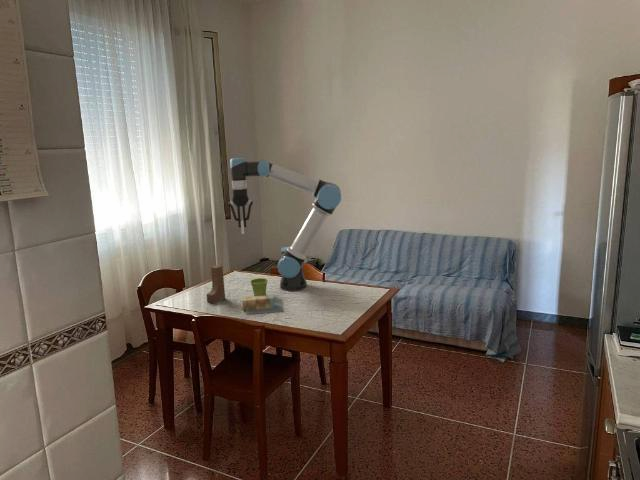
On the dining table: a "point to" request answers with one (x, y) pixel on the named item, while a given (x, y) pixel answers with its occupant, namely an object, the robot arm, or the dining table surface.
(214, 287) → the brown boot
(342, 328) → the dining table surface
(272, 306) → the tan jar with lid
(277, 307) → the mat
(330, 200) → the robot arm
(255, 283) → the plant pot
